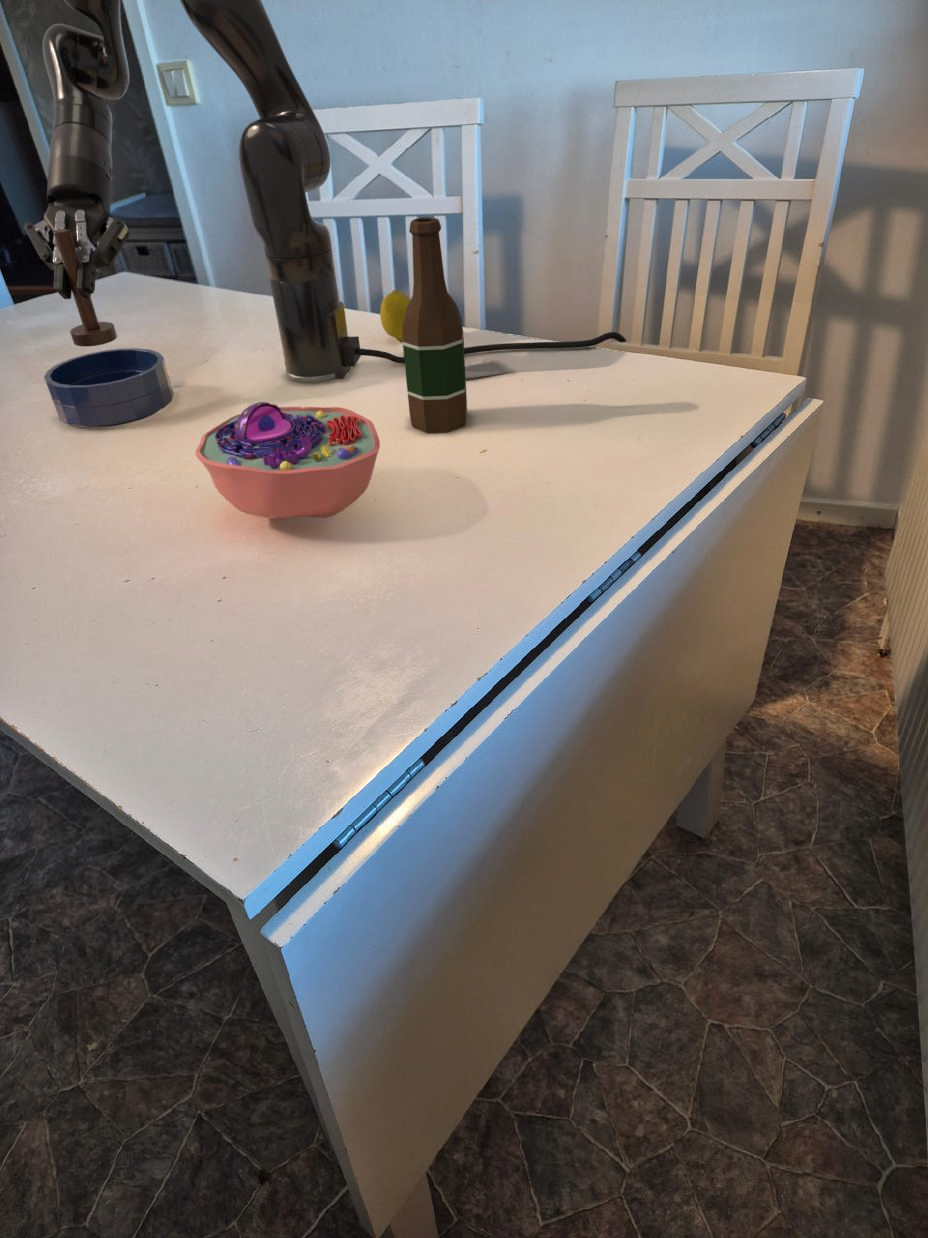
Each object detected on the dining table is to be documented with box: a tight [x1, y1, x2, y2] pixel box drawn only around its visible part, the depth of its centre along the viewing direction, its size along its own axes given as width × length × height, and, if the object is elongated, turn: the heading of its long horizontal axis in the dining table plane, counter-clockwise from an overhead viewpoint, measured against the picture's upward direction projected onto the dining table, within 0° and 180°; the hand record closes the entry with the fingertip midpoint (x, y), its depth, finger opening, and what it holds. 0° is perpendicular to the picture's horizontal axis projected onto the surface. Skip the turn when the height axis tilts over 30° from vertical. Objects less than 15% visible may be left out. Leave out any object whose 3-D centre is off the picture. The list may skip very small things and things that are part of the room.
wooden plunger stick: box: [52, 229, 118, 347], centre depth 106 cm, size 6×6×14 cm
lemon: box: [379, 289, 411, 342], centre depth 131 cm, size 6×6×8 cm
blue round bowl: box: [43, 347, 175, 428], centre depth 113 cm, size 16×16×6 cm
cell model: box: [195, 401, 381, 519], centre depth 85 cm, size 17×20×11 cm
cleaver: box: [465, 361, 510, 380], centre depth 118 cm, size 13×1×5 cm
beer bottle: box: [402, 216, 468, 434], centre depth 98 cm, size 8×8×24 cm
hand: (74, 294), depth 104 cm, fingers closed on wooden plunger stick
